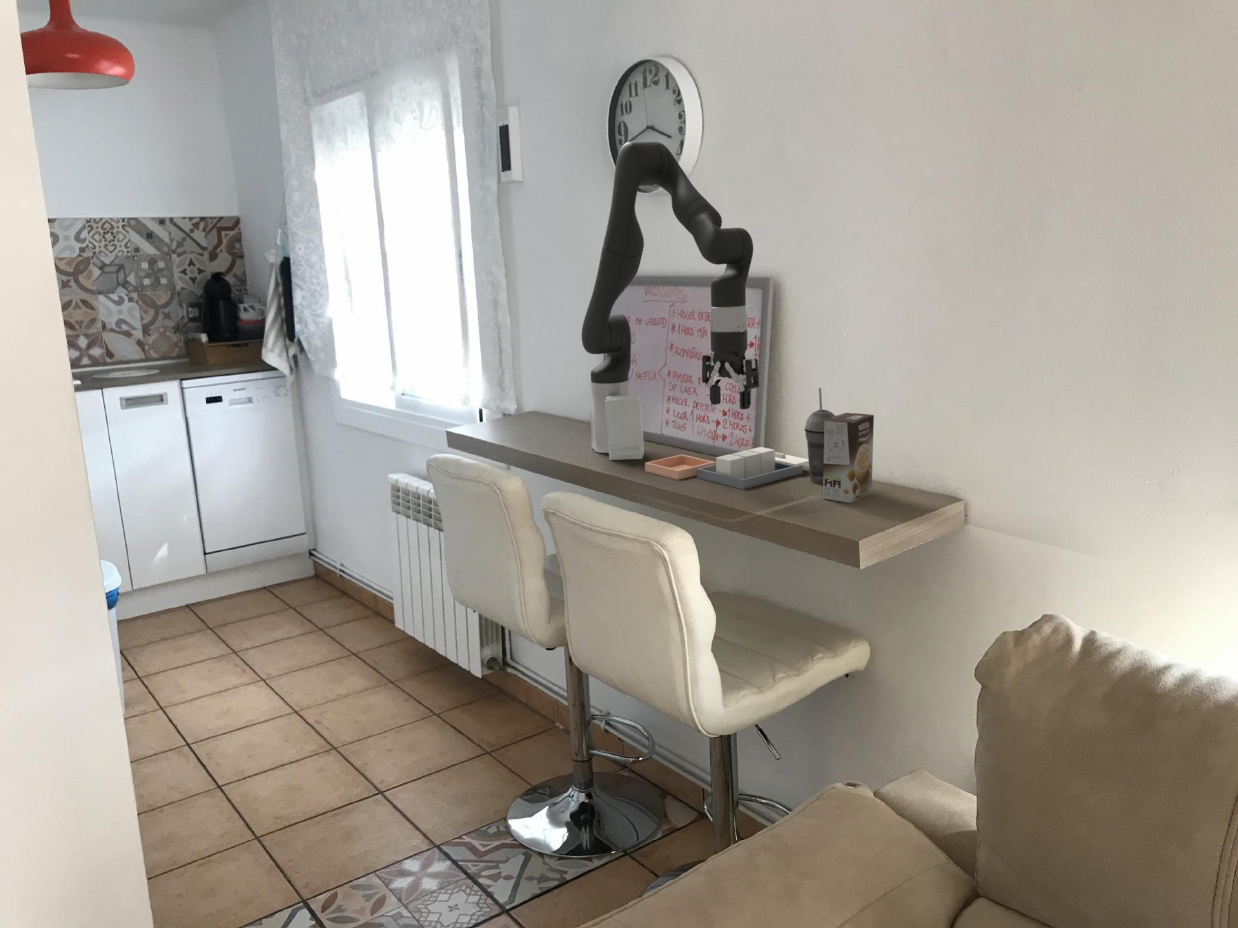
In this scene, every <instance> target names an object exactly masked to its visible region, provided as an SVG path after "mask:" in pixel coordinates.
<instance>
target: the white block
mask: <svg viewBox="0 0 1238 928" xmlns="http://www.w3.org/2000/svg"><path fill="white" fill-rule="evenodd" d="M732 454H733V453H732ZM732 454H731V453H729V454H725V455H721V456H717V457H715V464H716V473H720V474H724V475H728V476H732V477H737V478H741V479H744V457H741V456H736V455H732Z"/></svg>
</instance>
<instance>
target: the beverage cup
mask: <svg viewBox="0 0 1238 928" xmlns="http://www.w3.org/2000/svg"><path fill="white" fill-rule="evenodd" d="M822 395H823V394H822V388H821V387H820V388H818V400H819V401H818V403H819V409H817V410H815V411H813V412H812V413H811V414H809V416H808V417H807V419H806V421H805V427H804V431H805V439H806V441H807V442H806V443H807V444H806V445H807V456H808V458H807V459H809V464H808V470H809V477H810V482H811V483H814V484H821V485H823V475H824V474H823V471H824V419H827V418H831V417H834V416H836V415H835V414H834V413H833V412H831V411H830V410H827V409H823V398H822V397H823V396H822Z"/></svg>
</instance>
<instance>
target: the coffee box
mask: <svg viewBox="0 0 1238 928" xmlns="http://www.w3.org/2000/svg"><path fill="white" fill-rule="evenodd" d="M874 419H875V415H874V414H866V413H856V412H855V413H851V412H844V413H840V414H837V415H835V416H834V417H831V418H827V419H824V471H823V474H824V475H823V484H822V499H823V500H829V501H830V500H831V501H835V502H842V503H847V504H851V503H854V502H856V501H858V500H861V499H863V498H865V497H866V496H868V495H870V494H872V492H873V490H872V488H873V458H874V454H873V453H874V422H875V420H874Z"/></svg>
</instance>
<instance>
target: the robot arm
mask: <svg viewBox="0 0 1238 928" xmlns="http://www.w3.org/2000/svg"><path fill="white" fill-rule="evenodd" d="M616 158H617V159H616V162H615V171H614V177H613V178H614V179H613V188H612V197H611V202H610V203H611V204H610V210H609V216H608V221H607V227H606V229H605V230H606V231H605V234H604V239H603V244H602V247H601V252H600V258H599V265H598V269H597V274H596V278H595V283H594V287H593V290H592V293H591V297H590V299H589V303H588V306H587V310H586V313H585V316H584V320H583V323H582V328H581V342H582V343H581V344H582V346H583V348H584V350H585V351H586V352H587V353H588V354H591V355H603V354H604V355H605V354H606V357H605V359H604V360H603V361H602V362H601V363H600V364H598V365H597V366H594V368H592V369H591V371H590V389H591V390H590V391H591V411H590V412H589V413H590V437H591V449H593V451H594V452H596V453H601V454H609V447H608V435H607V422H606V409H605V400H606V398H607V396H620V395H630V381H629V380H630V379H629V373H630V369H631V364H632V362H631V357H632V355H631V351H632V335H631V334H632V332H631V326H630V322H629V320H628V319H627V317H626V316H624V315H623V314H621V313H611V312H612V310H613V307H614V305H615V304H616V302H617V300H618V298H619V297H620V296H621V295H622V294H623V293H624V291H625V290H626V288H628V287H629V285H630V284H631V282H632V281H633V280H634V278H635V277H636V275H637V274H638V271H639V268H640V265H641V260H642V256H643V253H644V248H645V241H644V235H643V232H642V229H641V226H640V224H639V221H638V218H637V217H638V216H637V214H636V203H637V202H636V201H637V193H638V191H639V187H640V186H643V187H644V186H647V187H648V186H655V185H656V186H658V187H661V188H662V189H663V190H665V191H666V192H667V194H669V196H670V197H671V198H670V199H671V207H672V212H673V214H674V216H675V218H676V219H677V221H678V222H679V223H680V224H681V226H683V227H684V228H685V229H686V231H688V233H689V234H690V235H692V238H693V239H694V242H695V244H696V246H697V248H698V250H699V252H700V253H699V254H700V255H701V257H703V258H704V259H705V260H706V262H708V263H710V264H713V265H717V266H718V265H719V266H720V265H726V266H725V268H724V272H723V274H721V275H720V276H717V277H714V279H712V280H711V284H710V317H709V321H710V322H709V324H710V325H709V326H710V328H709V329H710V334H709V335H710V351H711V352H712V353H711V354H703V355H702V357H701V359H702V360H701V382H702V384H706V385H707V386H708V387H709V400H710V404H711V405H712V406H714V405H716V406H717V405H720V404H721V397H722V395H721V386H720V385H721V383H722V381H723V380H724V379H725V378H728V379H730V380H731V379H732V381H733V383H735V384H737V387H738V388H739V390H740V391H739V408H740V410H747V409H750V407H751V405H752V393H751V392H752V390H754V389H757V388H759V387H760V381H759V379H760V376H759V363H758V359H757V358H755V357H754V358H748V359H747V358H746V357H747V356H746V351H747V350H748V345H749V344H748V313H747V306H746V305H747V303H746V302H747V301H746V300H747V299H746V298H747V297H746V291H747V290H746V285H747V280H748V276H749V271H750V269H751V264H752V260H753V255H754V243H753V239H752V236H751V234H750V233H749V232H748V230H747V229H745V228H742V227H728V228H727V227H726V228H723V227H722V226H723V219H722V215H721V214H720V212H719V211H718V210H717V209H716V208H715V207H714V206H713V205H712V204H711V203H710V202H709V201H708V199H706V198H705V197H704V195H702V194H701V193H700V192H699V191H698V189H696V187H695V186H694V185H693V183H692V182H691V180H690V179H689V177H688V175H687V174H686V173H685V171H684V169H682V166H680V164H679V162H678V161H677V160H676V158H675V156H674V155H673V153H672V152H671V151H670V150H669V147H667V146H666V144H664V143H662V142H659V141H641V140H639V141H638V140H637V141H636V140H635V141H634V140H633V141H632V140H631V141H627V142H625V143H624V144H623V145H622V146H621V148H620V149H619V151H618V155H617V157H616Z"/></svg>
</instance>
